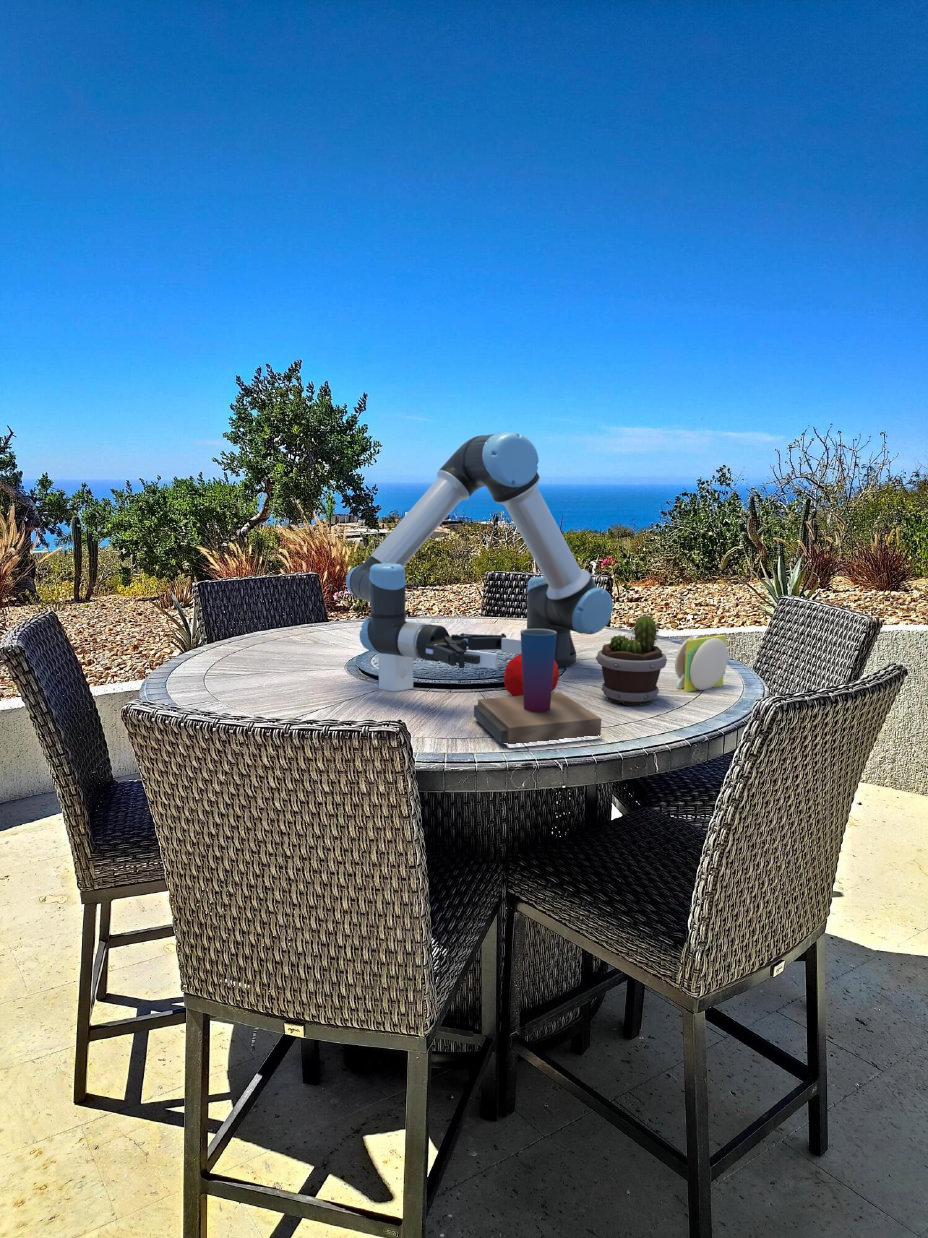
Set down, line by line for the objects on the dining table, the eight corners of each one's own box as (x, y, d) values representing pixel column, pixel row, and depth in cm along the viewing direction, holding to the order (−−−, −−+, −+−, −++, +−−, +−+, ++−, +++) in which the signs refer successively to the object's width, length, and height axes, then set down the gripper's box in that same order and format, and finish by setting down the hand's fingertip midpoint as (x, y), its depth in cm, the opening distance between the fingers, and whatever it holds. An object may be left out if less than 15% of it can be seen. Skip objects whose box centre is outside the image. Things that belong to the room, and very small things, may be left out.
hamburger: (702, 679, 174) (705, 631, 172) (730, 687, 167) (734, 637, 165) (666, 685, 168) (669, 635, 166) (693, 694, 161) (697, 642, 159)
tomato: (495, 693, 162) (495, 649, 160) (545, 688, 166) (546, 645, 164) (515, 707, 151) (516, 660, 150) (568, 701, 156) (569, 655, 154)
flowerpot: (615, 712, 148) (619, 617, 144) (584, 692, 162) (587, 605, 159) (678, 707, 152) (683, 614, 148) (641, 688, 166) (645, 603, 163)
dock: (560, 710, 149) (560, 692, 148) (600, 739, 132) (601, 718, 131) (472, 719, 144) (472, 699, 143) (502, 749, 127) (503, 728, 126)
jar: (387, 693, 161) (386, 641, 159) (371, 685, 168) (370, 635, 166) (421, 687, 166) (421, 637, 164) (404, 680, 173) (404, 631, 171)
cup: (516, 703, 140) (517, 628, 138) (550, 703, 141) (552, 628, 138) (522, 714, 134) (523, 635, 131) (558, 713, 134) (560, 635, 132)
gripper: (457, 648, 160) (542, 660, 149) (387, 671, 140) (480, 688, 128) (457, 615, 159) (543, 625, 148) (387, 634, 138) (480, 647, 127)
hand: (514, 654), depth 138 cm, fingers open, 13 cm apart
